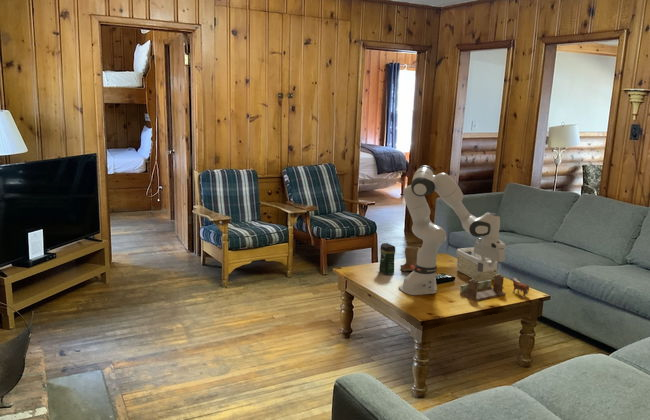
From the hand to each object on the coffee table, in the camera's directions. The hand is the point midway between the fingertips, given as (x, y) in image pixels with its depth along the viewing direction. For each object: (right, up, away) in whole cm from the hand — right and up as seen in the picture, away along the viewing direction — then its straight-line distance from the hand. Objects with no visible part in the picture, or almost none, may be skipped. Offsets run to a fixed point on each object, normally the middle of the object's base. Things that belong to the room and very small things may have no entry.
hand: (487, 265), depth 303 cm
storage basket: (+4, -10, +38) cm, 40 cm away
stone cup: (-36, -7, +45) cm, 58 cm away
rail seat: (-1, -17, +5) cm, 18 cm away
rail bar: (0, -2, +1) cm, 2 cm away
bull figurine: (+20, -17, +8) cm, 28 cm away
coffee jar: (-52, -9, +37) cm, 65 cm away
